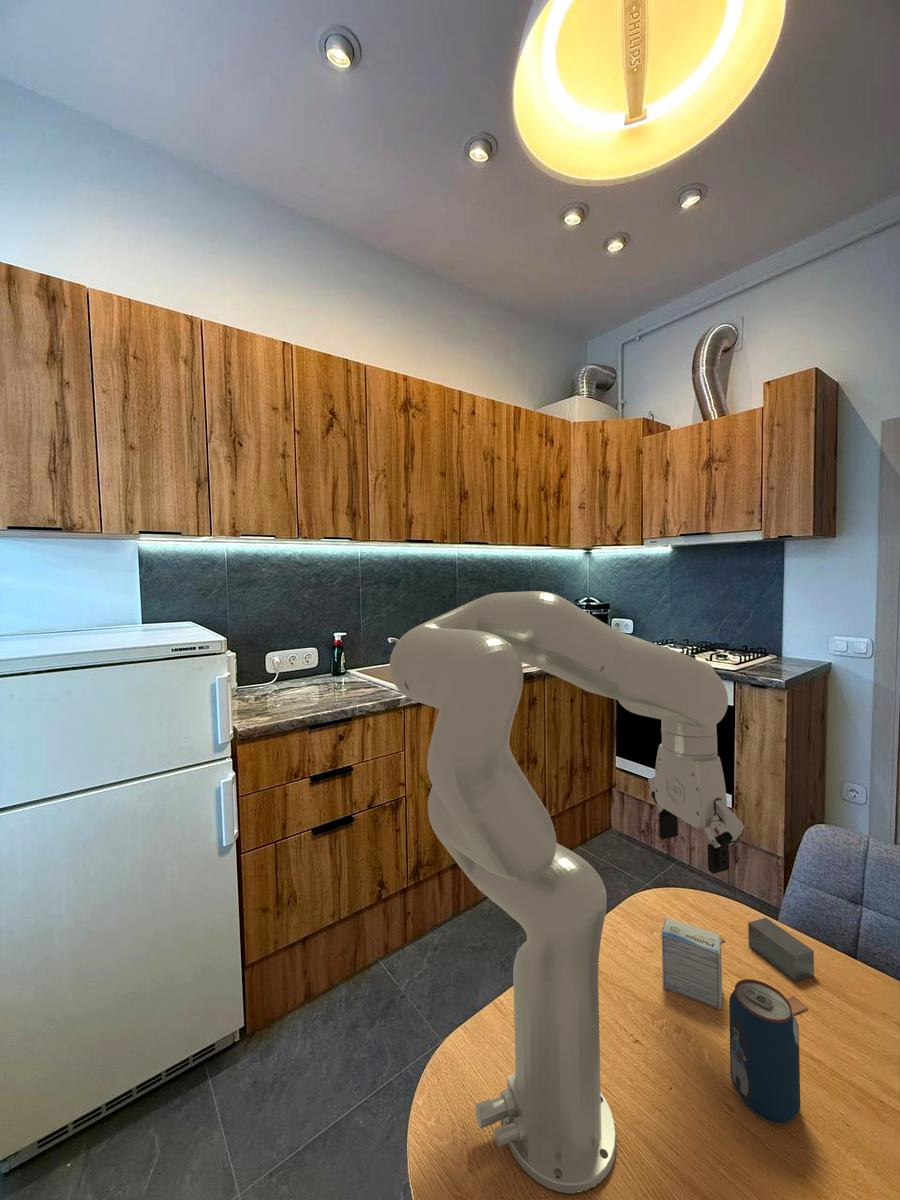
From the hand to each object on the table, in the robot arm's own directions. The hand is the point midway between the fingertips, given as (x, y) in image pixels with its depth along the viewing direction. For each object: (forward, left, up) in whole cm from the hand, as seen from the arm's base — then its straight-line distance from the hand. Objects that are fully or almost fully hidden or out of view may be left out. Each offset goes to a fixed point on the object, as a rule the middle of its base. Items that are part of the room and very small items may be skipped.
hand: (692, 852), depth 71 cm
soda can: (-4, -15, -21) cm, 26 cm away
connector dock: (+12, 0, -21) cm, 24 cm away
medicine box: (0, 0, -21) cm, 21 cm away
